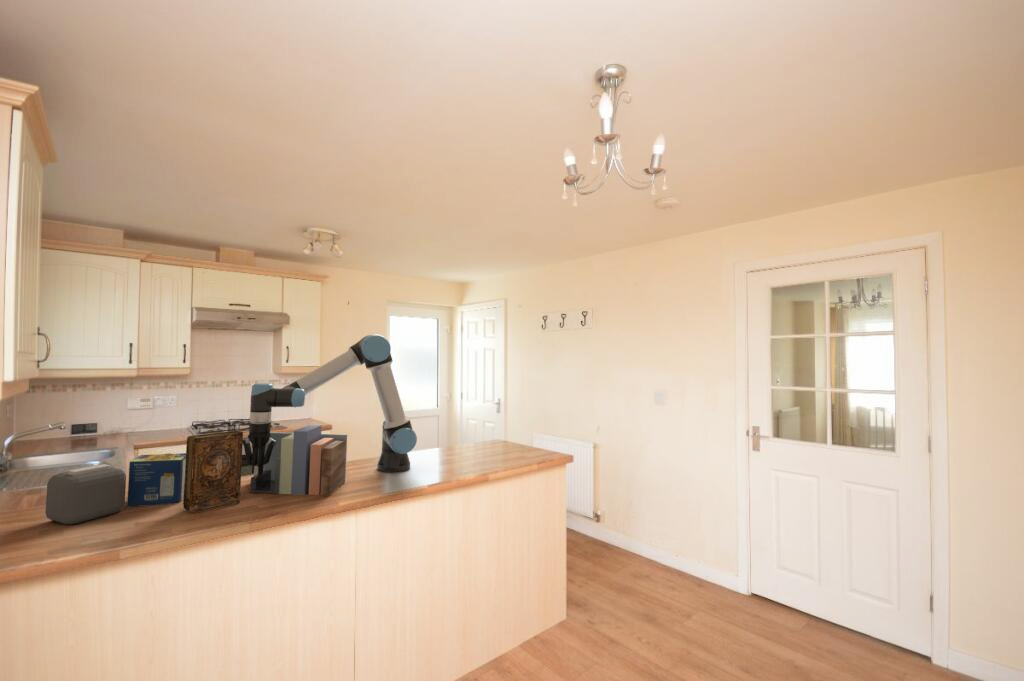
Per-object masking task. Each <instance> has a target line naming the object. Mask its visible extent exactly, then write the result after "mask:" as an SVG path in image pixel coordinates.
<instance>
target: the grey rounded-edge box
mask: <svg viewBox="0 0 1024 681" xmlns="http://www.w3.org/2000/svg"><path fill="white" fill-rule="evenodd" d="M126 484H127V475H126V472H125V471H124V470H122V469H121V468H115V467H112V466H111V465H110V464H105V463H104V464H98V465H91V466H87V467H81V468H76V469H70V470H68V471H64V472H58V473H56V474H54V475H52V476H51V477H50V478H48V481H47V484H46V497H45V516H46V519H49V520H50V521H53V522H57V523H60V524H64V525H76V524H80V523H83V522H87V521H91V520H94V519H97V518H101V517H105V516H109V515H112V514H116V513H118V512H121V510H122V509H124V506H125V503H126V486H127V485H126Z"/></svg>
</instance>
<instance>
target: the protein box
mask: <svg viewBox="0 0 1024 681" xmlns="http://www.w3.org/2000/svg"><path fill="white" fill-rule="evenodd" d="M128 462H129V466H128V484H127V485H128V486H127V487H128V488H127V502H126V503H127V504H126V507H127V506H131V507H140V506H139V505H146V506H157V505H156V504H158V506H159V504H161V505H174V504H180V503H181V502H182V501H183V500H184V482H185V464H186V452H185V453H161V454H159V453H158V454H141V455H139V456H137V457H135V458H133V459H132V460H130V461H128Z"/></svg>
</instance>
